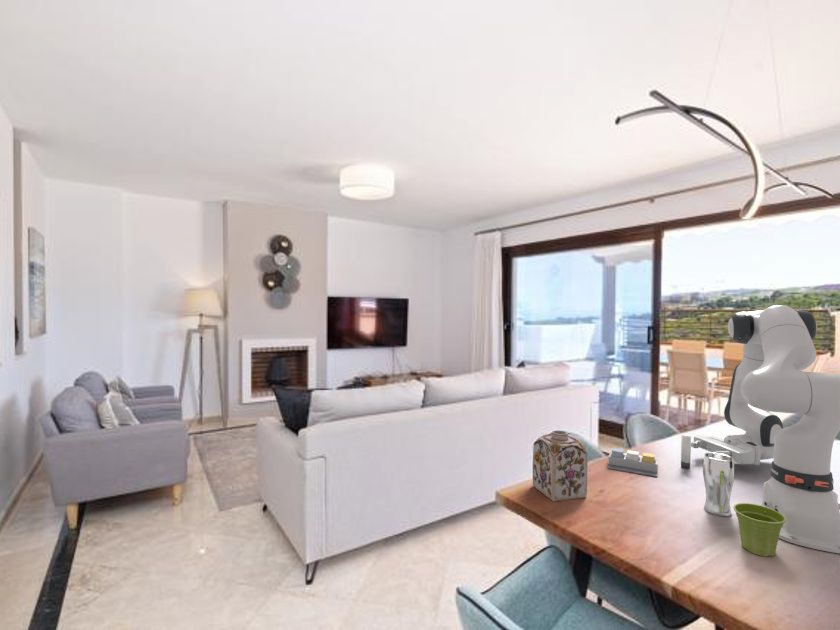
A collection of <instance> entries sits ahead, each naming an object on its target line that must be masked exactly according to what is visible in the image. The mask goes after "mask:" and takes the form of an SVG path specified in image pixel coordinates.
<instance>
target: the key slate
mask: <svg viewBox="0 0 840 630" xmlns="http://www.w3.org/2000/svg"><path fill="white" fill-rule="evenodd" d="M611 452H612V457H617V458H623V459H624V453H625V449H624V448H616V447H612V449H611Z"/></svg>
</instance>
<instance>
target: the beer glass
mask: <svg viewBox="0 0 840 630" xmlns="http://www.w3.org/2000/svg"><path fill="white" fill-rule="evenodd" d="M734 463H735V461H734V459H733V458H732V457H730V456H728V455H724V454H720V453H712V452H705V453H704V455H703V464H702V465H703V466H702V476H703V477H702V478H703V482H704V488H705V503H704V507H703V509H704V510H705V512H707V513H709V514H712V515H714V516H718V517H730V516H732V510H731V504H730V503H731V502H730V500H731V495H732V491H733V487H734V481H735V465H734Z"/></svg>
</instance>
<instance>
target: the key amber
mask: <svg viewBox="0 0 840 630" xmlns="http://www.w3.org/2000/svg"><path fill="white" fill-rule="evenodd" d="M642 456H643V460H642V462H648V463H654V464H655V459H656V455H655V454H654V453H650V452H648V453H647V452H642Z"/></svg>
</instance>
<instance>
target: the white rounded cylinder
mask: <svg viewBox="0 0 840 630" xmlns="http://www.w3.org/2000/svg"><path fill="white" fill-rule="evenodd" d="M680 441H681V444H680V445H681V446H680V447H681V449H680V467H681V468H682V469H686V470H687V469H688V470H689V469H691V459H692V458H691V457H692V456H691V454H692V453H691V452H692V451H691V450H692V447H691V443H692V436H691V435H689V434H681V440H680Z"/></svg>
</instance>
